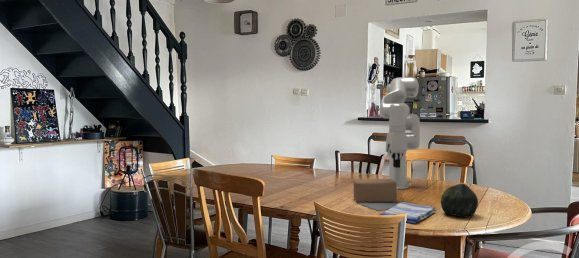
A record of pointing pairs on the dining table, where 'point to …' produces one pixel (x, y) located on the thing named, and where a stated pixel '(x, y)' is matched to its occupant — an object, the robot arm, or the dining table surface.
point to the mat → (378, 205)
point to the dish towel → (411, 211)
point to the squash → (459, 201)
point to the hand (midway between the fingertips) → (396, 167)
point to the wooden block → (375, 190)
